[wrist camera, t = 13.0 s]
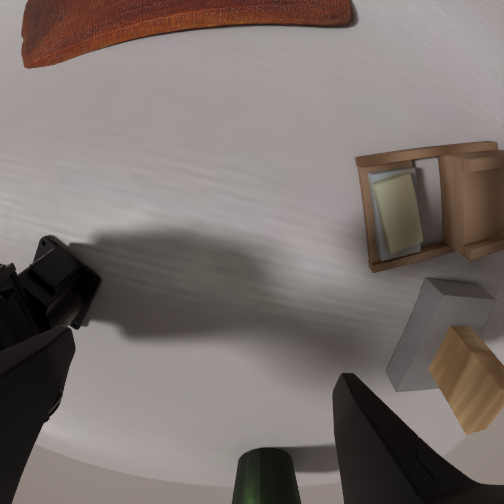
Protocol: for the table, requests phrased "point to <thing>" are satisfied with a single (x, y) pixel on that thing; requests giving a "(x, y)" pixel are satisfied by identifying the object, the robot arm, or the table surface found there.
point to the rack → (453, 203)
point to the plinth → (435, 329)
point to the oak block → (469, 378)
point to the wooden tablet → (153, 21)
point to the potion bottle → (265, 478)
